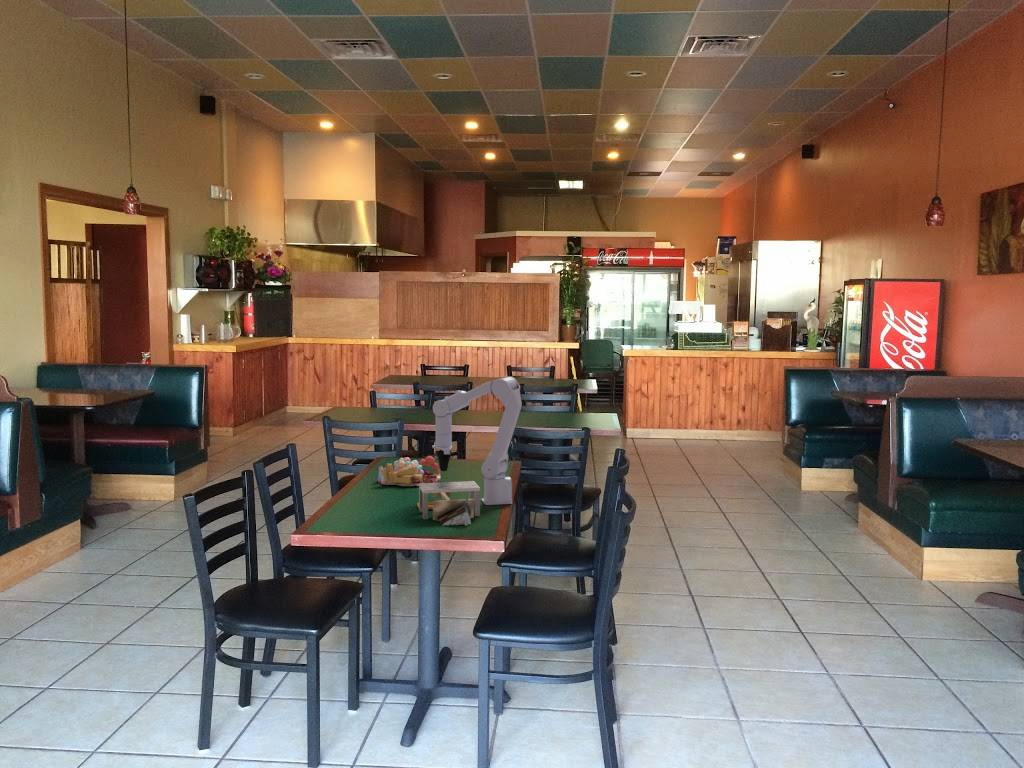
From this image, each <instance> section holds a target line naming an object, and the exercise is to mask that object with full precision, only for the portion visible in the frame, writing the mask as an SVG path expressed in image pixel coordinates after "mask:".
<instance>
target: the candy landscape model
mask: <svg viewBox="0 0 1024 768" xmlns="http://www.w3.org/2000/svg"><path fill="white" fill-rule="evenodd" d="M424 466H427V467H431V468H432V470H434V471H435V472H430V471H429V470H428V469H424V468H423V467H424ZM440 480H441V470H440V466H439V463H438V462H436V460H435V457H433V456H432V455H427V456H426V457H425V458H421V459H420V460H419V461H418V460H417V459H413V460H412V459H410V457H408V456H407V457H400V458H399V459H398V460H395V461H394V462H393V463H392V462H390V463H389V462H387V463H386V466H384V467H383V465H381V466H380V465H379V466H378V475H377V482H379V483H380V484H381V485H384V486H385V485H386V486H393V485H396V486H401V487H419V483H438V481H440Z"/></svg>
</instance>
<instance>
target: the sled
mask: <svg viewBox="0 0 1024 768" xmlns="http://www.w3.org/2000/svg"><path fill="white" fill-rule="evenodd" d="M451 493H452V492H442V493H432V497H433V498H442V499H440V500H439V499H438V500H432V502H433V510H432V520H433V521H436V519H435V517H434V516H435V515H436V514H437V513H439V512H442V511H443V510H445V509H447V508H449V507H451V506H453V505H455V504H457V503H459V502H461V501H463V500H466V499H468V503H469V504H470V506H471V510H472V513H471V516H470V519H472V518H474V517H475V515H474V499H470V498H460V499H459V498H457V499H456V498H455V499H450V498H451ZM449 497H450V498H449Z"/></svg>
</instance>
